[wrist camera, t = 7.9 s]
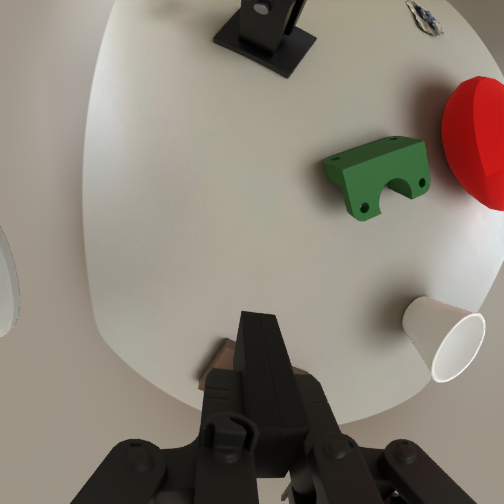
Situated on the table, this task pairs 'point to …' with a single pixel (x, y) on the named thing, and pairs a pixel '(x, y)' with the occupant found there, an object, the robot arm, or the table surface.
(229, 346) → the button block
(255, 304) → the table surface
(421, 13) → the grey flat irregular piece
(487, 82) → the vase
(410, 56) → the table surface
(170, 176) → the table surface
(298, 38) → the black bracket
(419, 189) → the clamp
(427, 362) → the cup
